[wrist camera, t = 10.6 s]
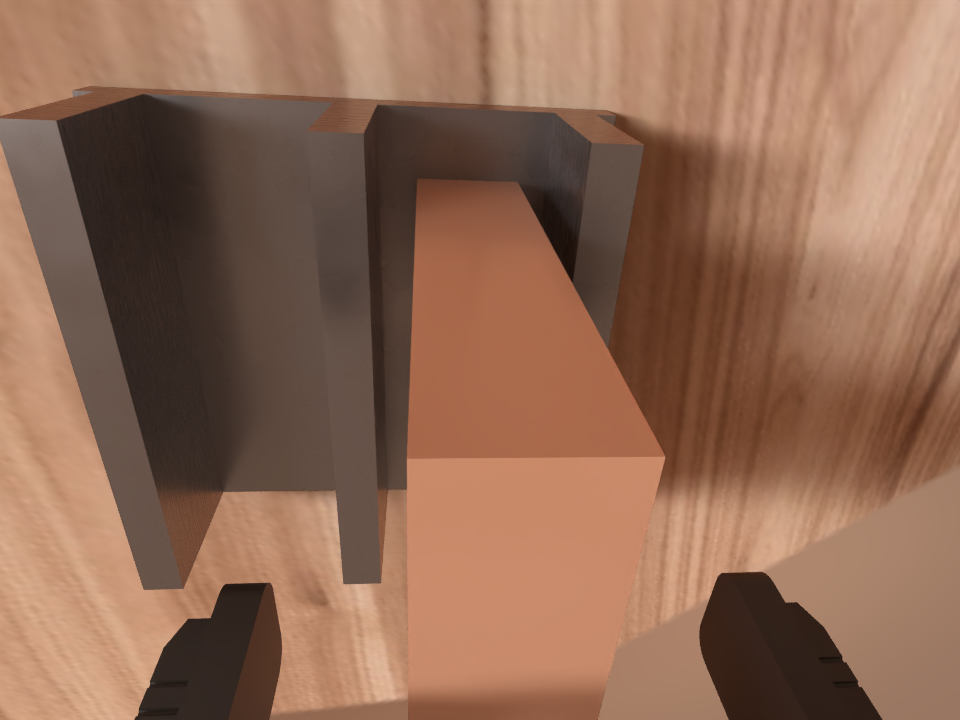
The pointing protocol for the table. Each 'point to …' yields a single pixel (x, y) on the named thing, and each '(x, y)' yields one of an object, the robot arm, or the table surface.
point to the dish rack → (276, 282)
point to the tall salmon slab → (514, 470)
